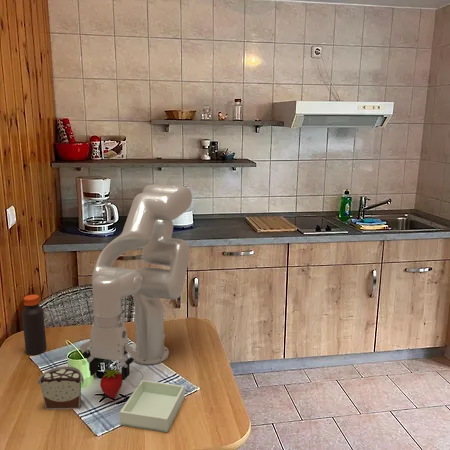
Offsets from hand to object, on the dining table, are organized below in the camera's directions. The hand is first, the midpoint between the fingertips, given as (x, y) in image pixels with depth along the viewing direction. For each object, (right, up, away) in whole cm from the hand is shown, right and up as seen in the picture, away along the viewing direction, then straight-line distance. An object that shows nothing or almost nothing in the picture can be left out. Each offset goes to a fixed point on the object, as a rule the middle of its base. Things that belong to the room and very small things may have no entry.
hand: (109, 375), depth 128 cm
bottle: (-33, -1, +28) cm, 44 cm away
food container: (-13, -8, 0) cm, 15 cm away
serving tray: (+13, -9, -3) cm, 16 cm away
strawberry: (0, -8, +3) cm, 8 cm away
